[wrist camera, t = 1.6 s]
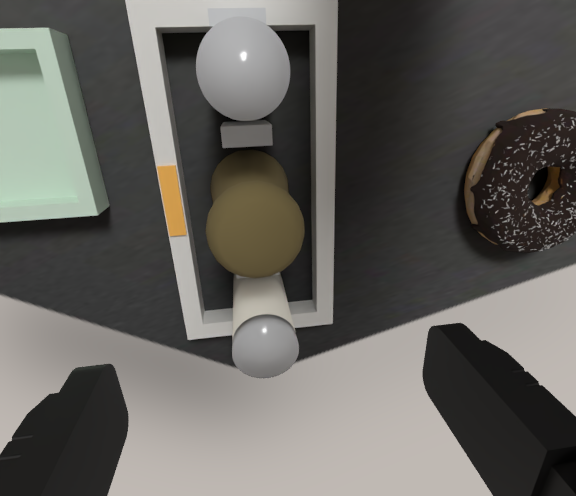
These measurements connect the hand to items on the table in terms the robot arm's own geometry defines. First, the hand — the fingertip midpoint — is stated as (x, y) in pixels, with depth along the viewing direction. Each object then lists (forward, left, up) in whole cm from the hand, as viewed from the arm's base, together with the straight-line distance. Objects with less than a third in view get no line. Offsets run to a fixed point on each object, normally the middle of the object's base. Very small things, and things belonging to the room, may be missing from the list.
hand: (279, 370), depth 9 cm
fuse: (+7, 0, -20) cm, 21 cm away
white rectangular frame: (0, 0, -20) cm, 20 cm away
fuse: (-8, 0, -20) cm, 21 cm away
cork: (0, 0, -20) cm, 20 cm away
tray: (-5, -16, -20) cm, 26 cm away
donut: (+1, +23, -20) cm, 31 cm away
